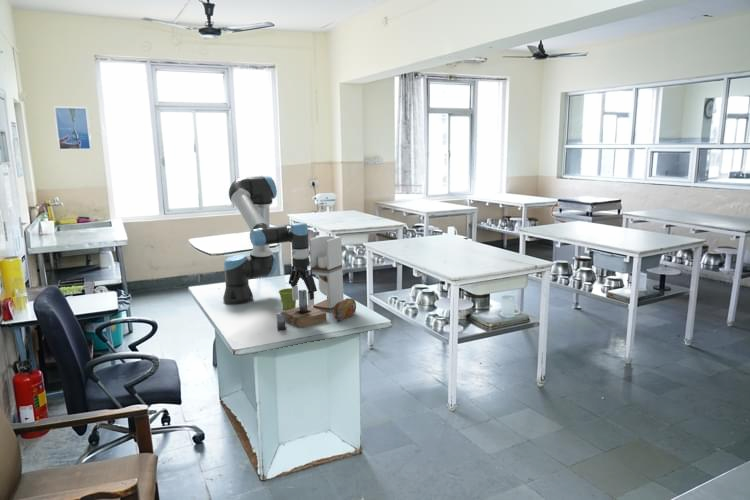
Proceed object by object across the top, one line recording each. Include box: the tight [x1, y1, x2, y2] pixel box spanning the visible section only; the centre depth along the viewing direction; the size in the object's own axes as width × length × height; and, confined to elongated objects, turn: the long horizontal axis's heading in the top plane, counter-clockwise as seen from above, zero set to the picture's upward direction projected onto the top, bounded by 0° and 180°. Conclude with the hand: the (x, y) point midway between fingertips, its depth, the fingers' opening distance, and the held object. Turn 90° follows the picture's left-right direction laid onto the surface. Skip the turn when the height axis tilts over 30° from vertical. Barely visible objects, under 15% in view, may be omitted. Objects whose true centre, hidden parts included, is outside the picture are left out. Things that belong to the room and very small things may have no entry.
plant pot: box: [278, 287, 297, 310], centre depth 262 cm, size 9×9×9 cm
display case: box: [308, 234, 345, 313], centre depth 257 cm, size 11×11×35 cm
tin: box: [333, 297, 357, 322], centre depth 244 cm, size 15×3×8 cm, turn 148°
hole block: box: [281, 304, 327, 329], centre depth 242 cm, size 16×14×4 cm
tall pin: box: [298, 289, 308, 314], centre depth 241 cm, size 4×4×14 cm
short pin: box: [276, 312, 287, 332], centre depth 230 cm, size 4×4×7 cm
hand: (303, 303), depth 241 cm, fingers open, 13 cm apart
